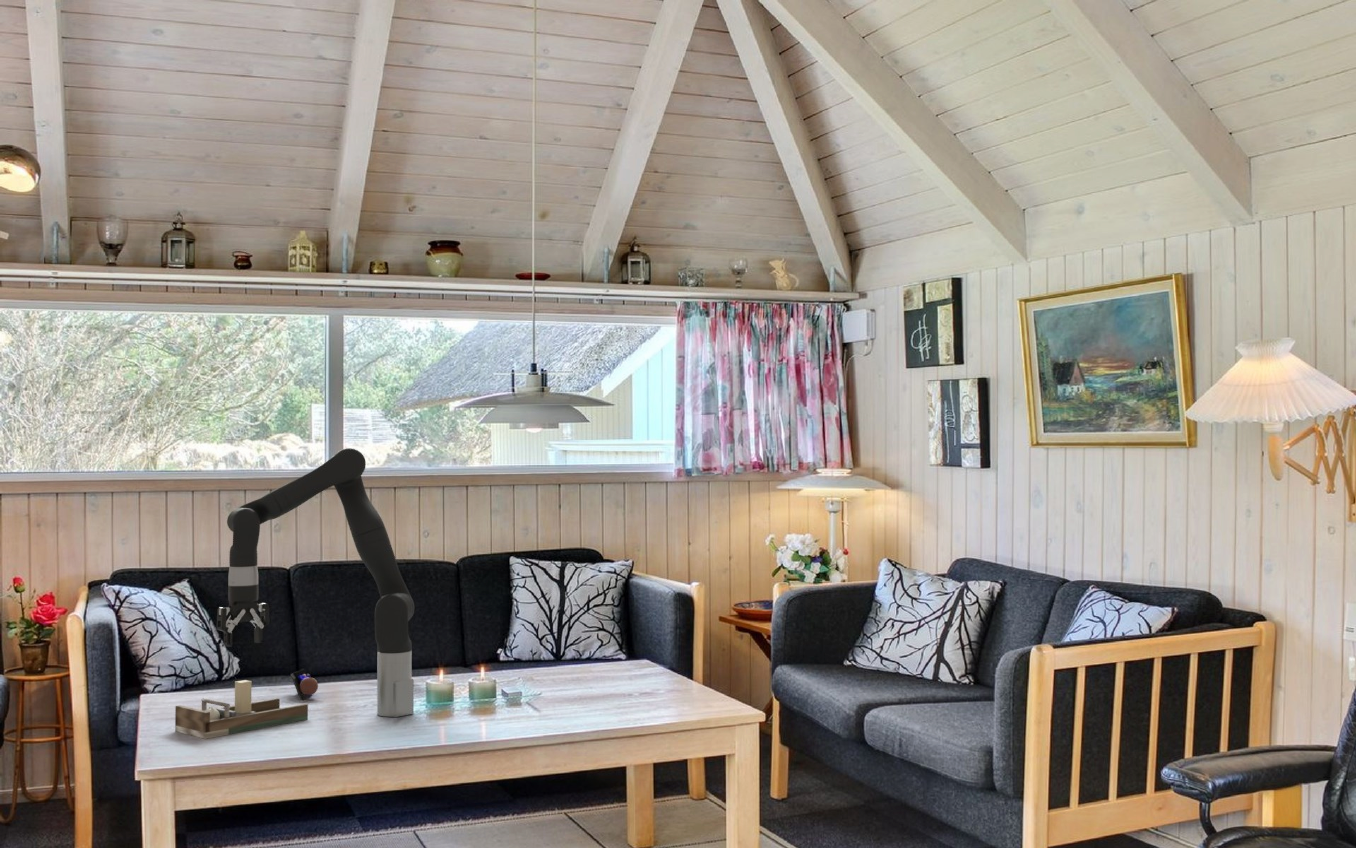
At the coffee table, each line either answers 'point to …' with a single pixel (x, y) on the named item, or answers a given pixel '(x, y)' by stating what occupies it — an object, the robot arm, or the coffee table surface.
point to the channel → (235, 718)
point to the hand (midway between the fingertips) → (243, 644)
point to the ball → (213, 714)
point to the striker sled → (240, 700)
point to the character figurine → (304, 683)
